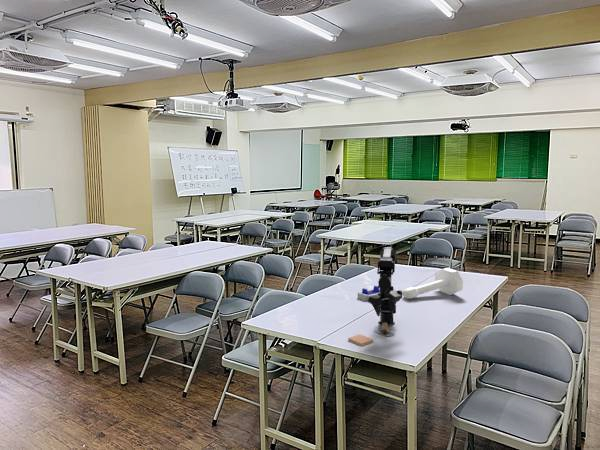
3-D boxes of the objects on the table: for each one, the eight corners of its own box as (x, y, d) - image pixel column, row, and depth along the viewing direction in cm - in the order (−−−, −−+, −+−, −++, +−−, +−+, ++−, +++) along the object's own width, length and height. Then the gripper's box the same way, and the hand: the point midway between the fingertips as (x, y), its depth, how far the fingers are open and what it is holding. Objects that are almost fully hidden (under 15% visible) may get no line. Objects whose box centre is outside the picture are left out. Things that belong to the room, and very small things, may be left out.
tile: (359, 337, 227) (348, 341, 223) (359, 334, 227) (348, 337, 222) (373, 342, 220) (361, 346, 216) (373, 339, 220) (361, 343, 215)
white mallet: (392, 281, 303) (436, 268, 314) (399, 307, 302) (443, 293, 313) (412, 280, 280) (458, 266, 291) (419, 308, 279) (466, 293, 290)
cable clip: (367, 299, 292) (367, 290, 291) (362, 297, 295) (362, 288, 295) (380, 296, 299) (380, 287, 298) (375, 294, 302) (375, 285, 301)
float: (375, 333, 233) (375, 322, 232) (382, 330, 236) (382, 320, 235) (387, 337, 227) (387, 326, 226) (394, 335, 230) (394, 324, 229)
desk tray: (356, 298, 295) (356, 292, 294) (376, 294, 305) (376, 288, 305) (368, 302, 287) (368, 296, 286) (388, 297, 297) (388, 291, 297)
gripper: (384, 290, 216) (383, 322, 218) (410, 284, 227) (410, 314, 229) (367, 285, 225) (367, 316, 227) (393, 280, 236) (393, 309, 238)
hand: (385, 314), depth 230 cm, fingers open, 9 cm apart
